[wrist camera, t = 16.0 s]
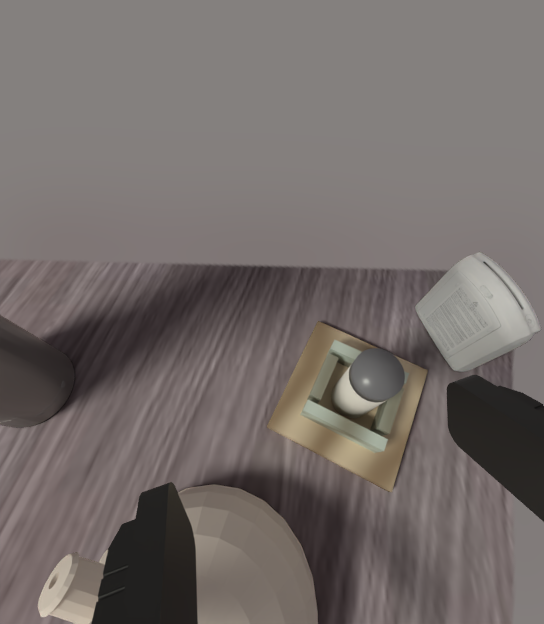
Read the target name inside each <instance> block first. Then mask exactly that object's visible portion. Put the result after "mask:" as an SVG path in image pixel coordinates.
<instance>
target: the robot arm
mask: <svg viewBox="0 0 544 624" xmlns="http://www.w3.org/2000/svg"><path fill="white" fill-rule="evenodd" d="M74 379H75V378H74V368H73V365H72V363H71V361H70V359H69V358H68V357H67V356H66V355H65V354H64V353H62V352H61V351H59V350H57V349H56V348H54V347H52V346H51V345H49V344H47V343H46V342H44V341H43V340H41V339H39V338H38V337H36V336H34V335H33V334H31V333H29V332H28V331H26V330H24V329H23V328H21V327H19V326H18V325H16V324H14V323H13V322H11V321H9V320H8V319H6V318H4V317H3V316H1V315H0V425H2V426H8V427H15V428H24V427H31V426H34V425H36V424H39V423H41V422H43V421H45V420H47V419H49V418H50V417H51V416H53V415H54V414H55V413H56V412H57V411H58V410H59V409H60V408H61V407H62V406H63V405H64V404H65V402H66V400H67V399H68V397H69V396H70V393H71V391H72V388H73V384H74ZM447 412H448V428H449V432H450V434H451V436H452V438H453V440H454V441H455V443H456V444H457V445H458V446H459V447H460V448H461V449H462V450H463V451H464V452H465V453H467V454H468V455H469V456H470V457H471V458H472V459H473V460H474V461H476V462H477V463H478V464H479V465H480V466H481V467H482V468H484V469H485V470H486V471H487V472H488V473H489V474H490V475H491V476H493V477H494V478H495V479H496V480H497V481H498V482H499V483H501V484H502V485H503V486H504V487H505V488H506V489H507V490H508V491H510V492H511V493H512V494H513V495H514V496H515V497H516V498H517V499H519V500H520V501H521V502H522V503H523V504H524V505H525V506H527V507H528V508H529V509H530V510H531V511H532V512H533V513H534V514H536V515H537V516H538V517H539V518H540V519H541V520H543V521H544V406H543V404H541V403H540V402H538V401H536V400H534V399H532V398H531V397H529V396H527V395H525V394H524V393H521V392H517V391H515V390H511V389H508V388H505V387H502V386H498V387H497V386H495V385H494V384H492V383H490V382H488V381H487V380H485V379H483V378H482V377H480V376H477V375H472V376H469V377H466V378H463V379H461V380H458V381H455V382H452V383H450V384H449V385H448V386H447ZM91 624H198V617H197V580H196V548H195V539H194V534H193V530H192V526H191V523H190V521H189V518H188V516H187V514H186V511H185V509H184V506H183V504H182V502H181V499H180V497H179V495H178V492H177V490H176V488H175V486H174V484H173V483H172V482H170V483H167V484H165V485H162V486H159V487H156V488H153V489H151V490H148V491H145V492H142V493H141V495H140V497H139V502H138V508H137V515H136V519H135V520H132V521H129V522H127V523H124V524H122V525H121V527H120V529H119V531H118V533H117V534H116V536H115V538H114V540H113V541H112V543H111V545H110V547H109V548H108V553H107V557H106V562H105V566H104V570H103V579H101V584H100V588H99V592H98V602H96V606H95V610H94V614H93V619H92V623H91Z"/></svg>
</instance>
